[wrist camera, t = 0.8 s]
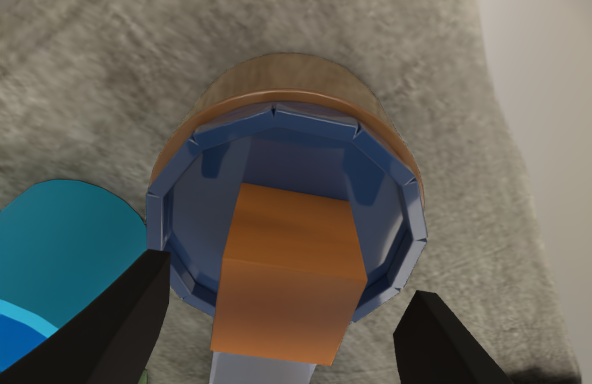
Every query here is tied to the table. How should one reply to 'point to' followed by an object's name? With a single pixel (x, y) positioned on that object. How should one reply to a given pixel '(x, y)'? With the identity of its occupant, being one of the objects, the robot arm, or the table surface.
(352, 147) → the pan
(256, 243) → the block
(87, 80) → the table surface
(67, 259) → the mug
